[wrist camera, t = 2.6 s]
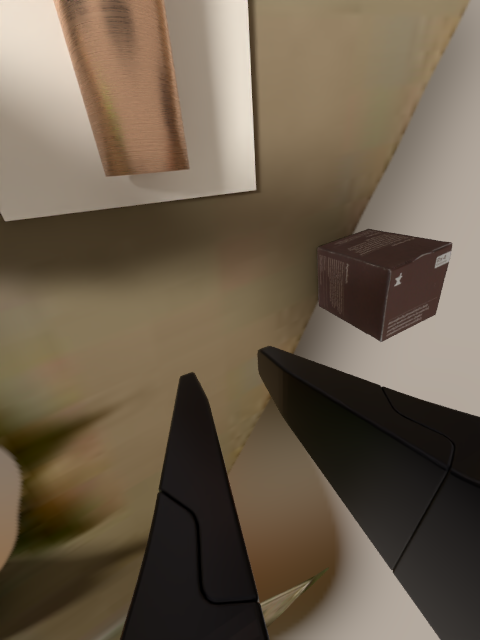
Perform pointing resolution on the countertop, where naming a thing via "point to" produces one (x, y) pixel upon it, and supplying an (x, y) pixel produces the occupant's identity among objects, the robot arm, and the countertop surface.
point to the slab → (75, 130)
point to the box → (382, 280)
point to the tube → (127, 83)
